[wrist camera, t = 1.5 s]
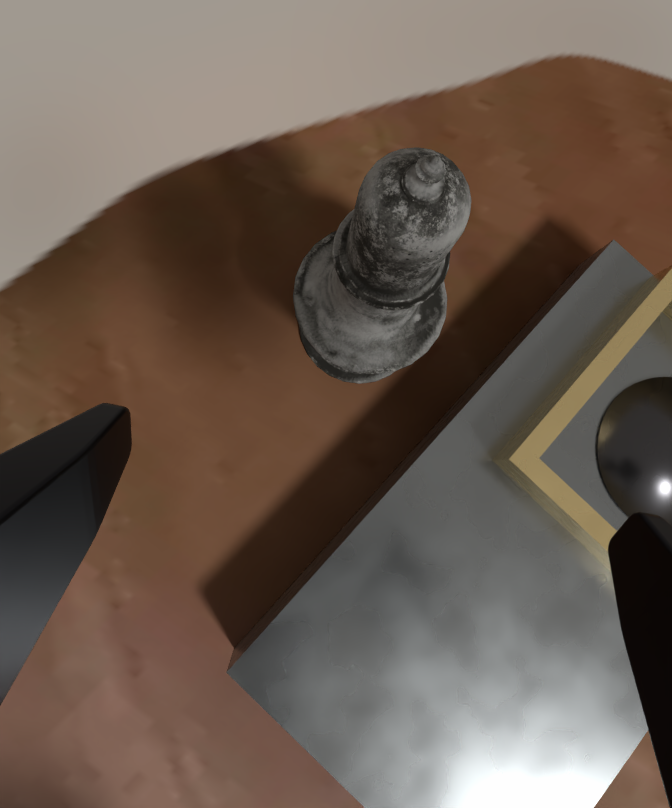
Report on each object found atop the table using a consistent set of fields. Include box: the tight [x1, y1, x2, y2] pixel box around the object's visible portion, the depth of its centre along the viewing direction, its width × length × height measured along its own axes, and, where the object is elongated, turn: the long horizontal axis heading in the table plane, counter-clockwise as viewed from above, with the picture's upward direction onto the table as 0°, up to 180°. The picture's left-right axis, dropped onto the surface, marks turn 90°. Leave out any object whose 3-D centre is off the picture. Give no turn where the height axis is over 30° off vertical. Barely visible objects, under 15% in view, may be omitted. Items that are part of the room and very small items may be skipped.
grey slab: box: [227, 240, 672, 808], centre depth 20 cm, size 23×13×4 cm, turn 137°
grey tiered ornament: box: [293, 148, 471, 384], centre depth 17 cm, size 6×6×12 cm
